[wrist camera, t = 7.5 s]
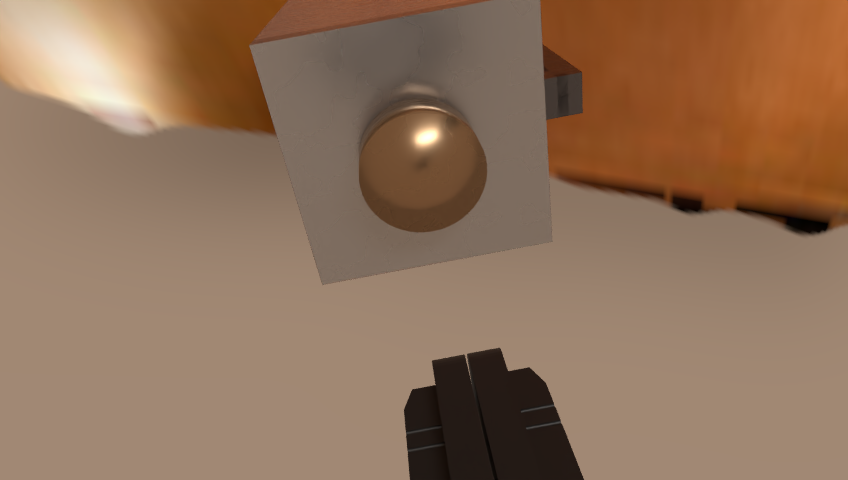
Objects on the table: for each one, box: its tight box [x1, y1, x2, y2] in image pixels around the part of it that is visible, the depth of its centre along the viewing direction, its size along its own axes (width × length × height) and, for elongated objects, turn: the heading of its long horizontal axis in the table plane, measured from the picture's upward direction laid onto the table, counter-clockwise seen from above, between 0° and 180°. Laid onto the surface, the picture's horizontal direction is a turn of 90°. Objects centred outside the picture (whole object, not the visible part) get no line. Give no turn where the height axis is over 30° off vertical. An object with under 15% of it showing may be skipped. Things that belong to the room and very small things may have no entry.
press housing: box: [249, 0, 583, 285], centre depth 32 cm, size 14×11×20 cm
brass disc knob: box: [359, 98, 487, 232], centre depth 31 cm, size 8×8×20 cm
